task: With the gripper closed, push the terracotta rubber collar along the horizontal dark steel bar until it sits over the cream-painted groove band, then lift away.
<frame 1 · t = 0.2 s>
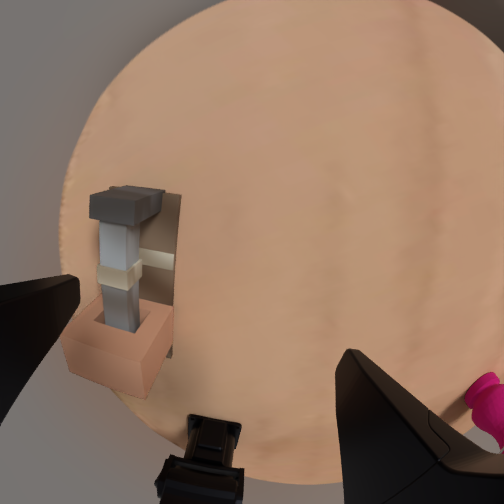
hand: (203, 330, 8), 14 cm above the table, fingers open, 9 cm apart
rail: (141, 279, 24), on the table
collar: (121, 339, 21), point 5 cm above the table, slide at 0.0 cm
pepper mill: (479, 386, 27), on the table
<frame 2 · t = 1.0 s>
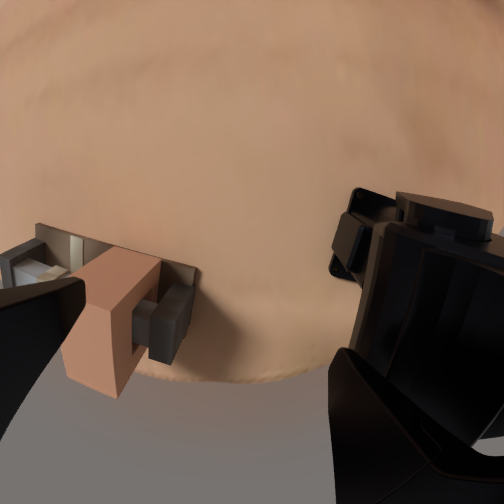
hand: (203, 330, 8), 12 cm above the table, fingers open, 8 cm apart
rail: (102, 277, 21), on the table
collar: (112, 317, 17), point 5 cm above the table, slide at 0.0 cm
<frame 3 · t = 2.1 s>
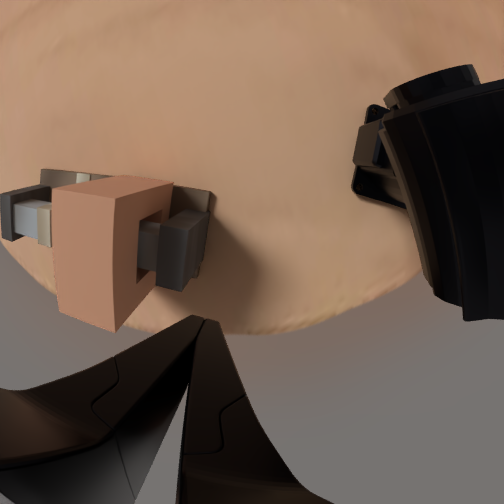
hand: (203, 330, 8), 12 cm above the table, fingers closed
rail: (108, 216, 20), on the table
collar: (116, 241, 16), point 5 cm above the table, slide at 0.0 cm
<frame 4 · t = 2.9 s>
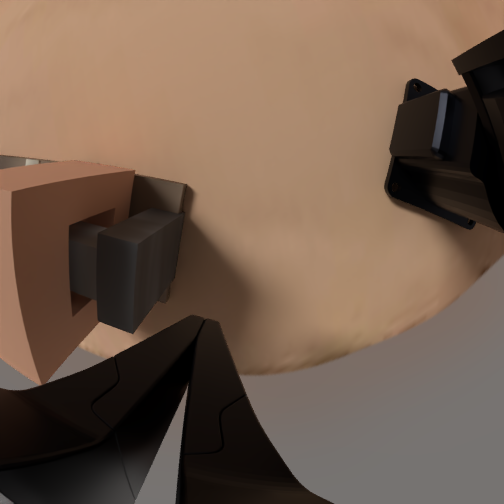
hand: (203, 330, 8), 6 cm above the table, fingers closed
rail: (59, 214, 14), on the table
collar: (50, 252, 10), point 5 cm above the table, slide at 0.0 cm
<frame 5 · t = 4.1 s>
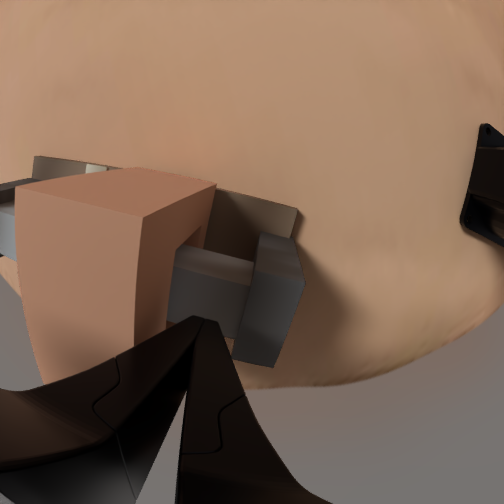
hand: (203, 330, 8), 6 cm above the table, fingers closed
rail: (132, 230, 14), on the table
collar: (128, 275, 10), point 5 cm above the table, slide at 1.3 cm, touching gripper
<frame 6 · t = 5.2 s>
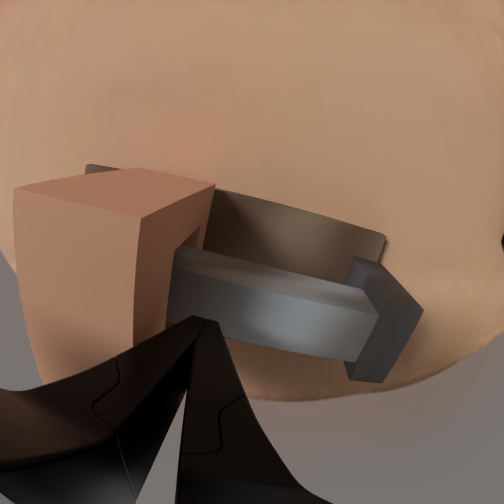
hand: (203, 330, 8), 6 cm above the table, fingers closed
rail: (215, 253, 14), on the table
collar: (127, 276, 10), point 5 cm above the table, slide at 6.1 cm, touching gripper
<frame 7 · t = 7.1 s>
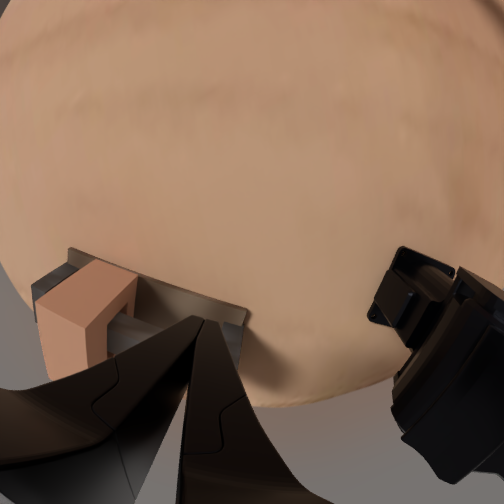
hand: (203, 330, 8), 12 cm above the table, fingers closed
rail: (144, 309, 22), on the table
collar: (90, 327, 17), point 5 cm above the table, slide at 6.2 cm
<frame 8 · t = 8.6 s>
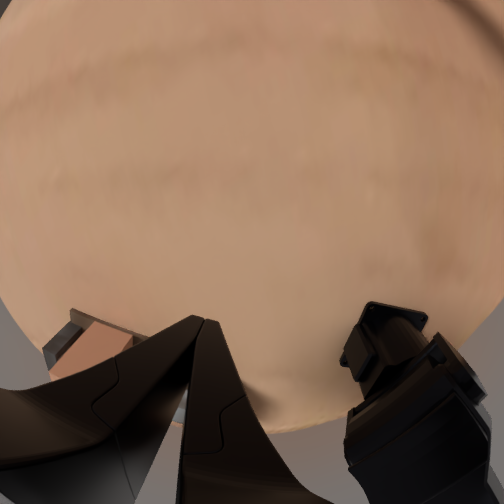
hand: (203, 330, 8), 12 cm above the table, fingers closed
rail: (142, 360, 24), on the table
collar: (97, 381, 19), point 5 cm above the table, slide at 6.2 cm
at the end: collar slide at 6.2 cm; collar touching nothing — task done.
